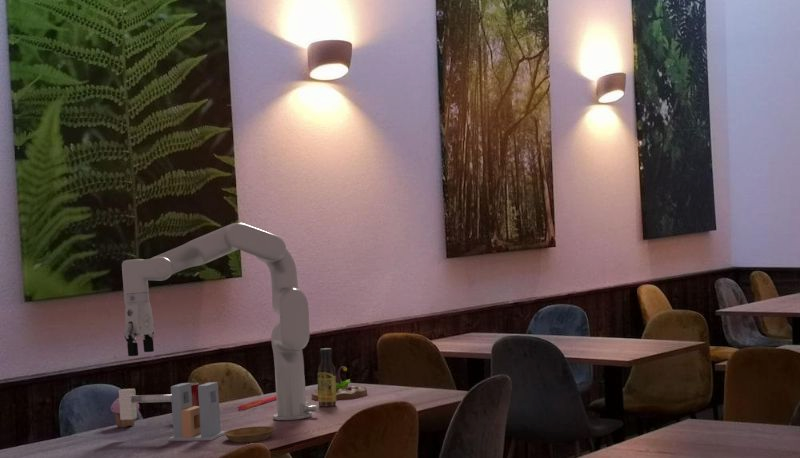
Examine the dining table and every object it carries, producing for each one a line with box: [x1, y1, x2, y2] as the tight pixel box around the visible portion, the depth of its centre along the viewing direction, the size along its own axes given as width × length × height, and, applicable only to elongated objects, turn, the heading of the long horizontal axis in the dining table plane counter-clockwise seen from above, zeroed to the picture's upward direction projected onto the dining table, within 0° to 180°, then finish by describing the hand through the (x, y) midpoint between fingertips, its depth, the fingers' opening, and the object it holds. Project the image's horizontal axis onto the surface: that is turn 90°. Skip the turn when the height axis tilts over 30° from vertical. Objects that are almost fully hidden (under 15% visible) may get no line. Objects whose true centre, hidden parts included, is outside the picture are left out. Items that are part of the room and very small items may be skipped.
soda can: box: [190, 382, 200, 407], centre depth 364 cm, size 7×7×12 cm
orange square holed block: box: [181, 406, 201, 437], centre depth 327 cm, size 3×8×8 cm, turn 162°
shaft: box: [118, 388, 185, 420], centre depth 331 cm, size 21×3×9 cm, turn 74°
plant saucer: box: [224, 425, 275, 443], centre depth 319 cm, size 15×15×3 cm
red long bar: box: [237, 394, 277, 411], centre depth 389 cm, size 24×2×5 cm
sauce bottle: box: [317, 347, 337, 408], centre depth 375 cm, size 7×6×20 cm
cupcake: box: [110, 397, 140, 428], centre depth 357 cm, size 9×9×10 cm
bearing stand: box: [168, 381, 227, 442], centre depth 327 cm, size 14×10×16 cm
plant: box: [311, 365, 368, 402], centre depth 398 cm, size 20×20×11 cm
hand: (141, 353), depth 337 cm, fingers open, 9 cm apart
